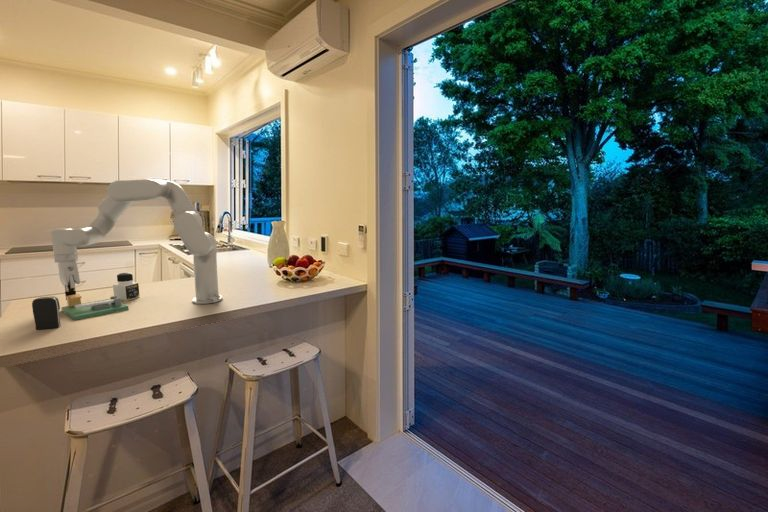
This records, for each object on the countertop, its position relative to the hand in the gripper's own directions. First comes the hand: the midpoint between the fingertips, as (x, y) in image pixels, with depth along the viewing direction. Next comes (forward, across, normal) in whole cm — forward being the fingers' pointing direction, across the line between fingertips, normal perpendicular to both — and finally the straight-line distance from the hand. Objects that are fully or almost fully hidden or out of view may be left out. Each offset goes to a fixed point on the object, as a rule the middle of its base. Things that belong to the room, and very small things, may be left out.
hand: (71, 300), depth 159 cm
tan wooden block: (+2, -6, 0) cm, 6 cm away
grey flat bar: (0, -15, -5) cm, 16 cm away
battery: (+4, -24, +12) cm, 27 cm away
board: (+3, -12, -5) cm, 13 cm away
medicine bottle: (+4, -1, -20) cm, 20 cm away
